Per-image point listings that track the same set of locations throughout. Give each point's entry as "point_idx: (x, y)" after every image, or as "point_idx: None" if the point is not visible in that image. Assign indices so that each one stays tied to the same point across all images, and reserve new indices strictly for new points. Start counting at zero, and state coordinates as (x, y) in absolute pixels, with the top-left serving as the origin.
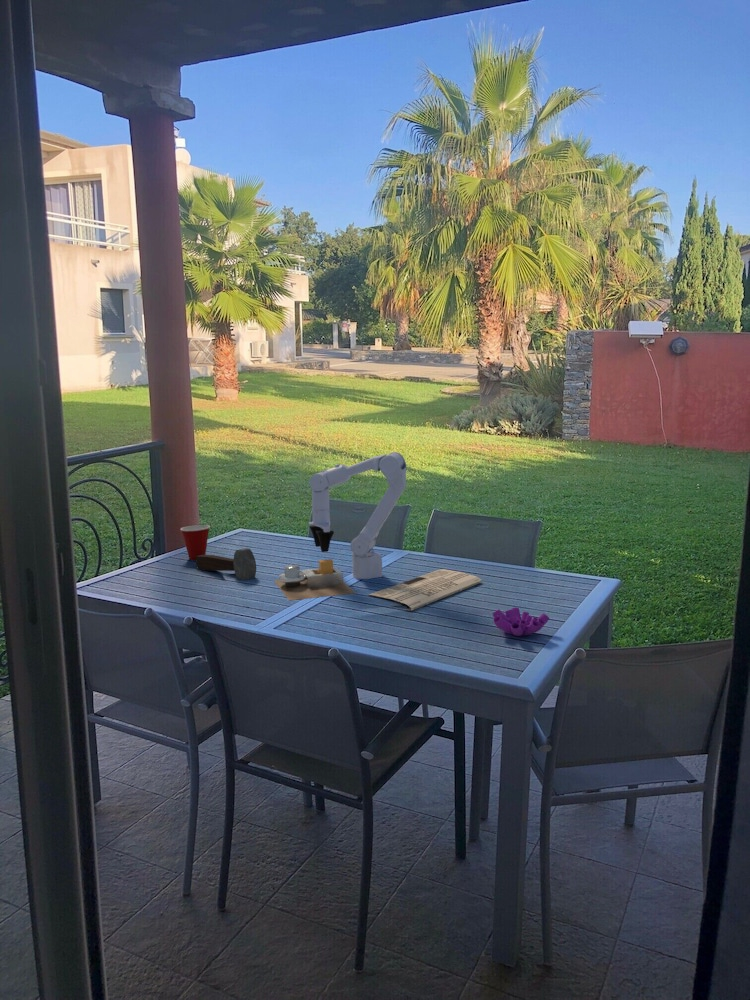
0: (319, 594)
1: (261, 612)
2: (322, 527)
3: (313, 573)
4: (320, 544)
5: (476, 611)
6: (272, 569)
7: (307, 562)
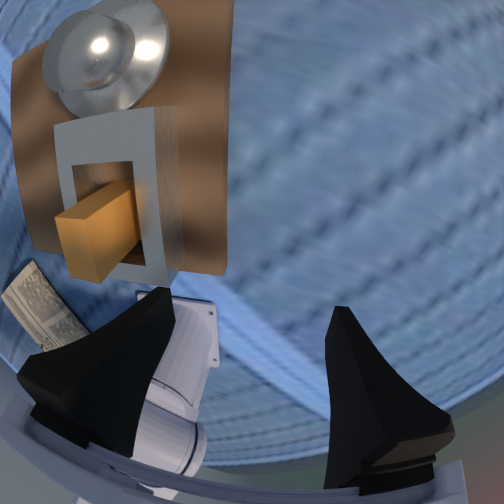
0: (26, 150)
1: (17, 6)
2: (17, 434)
3: (85, 159)
4: (127, 316)
5: (26, 352)
6: (479, 87)
7: (483, 249)
